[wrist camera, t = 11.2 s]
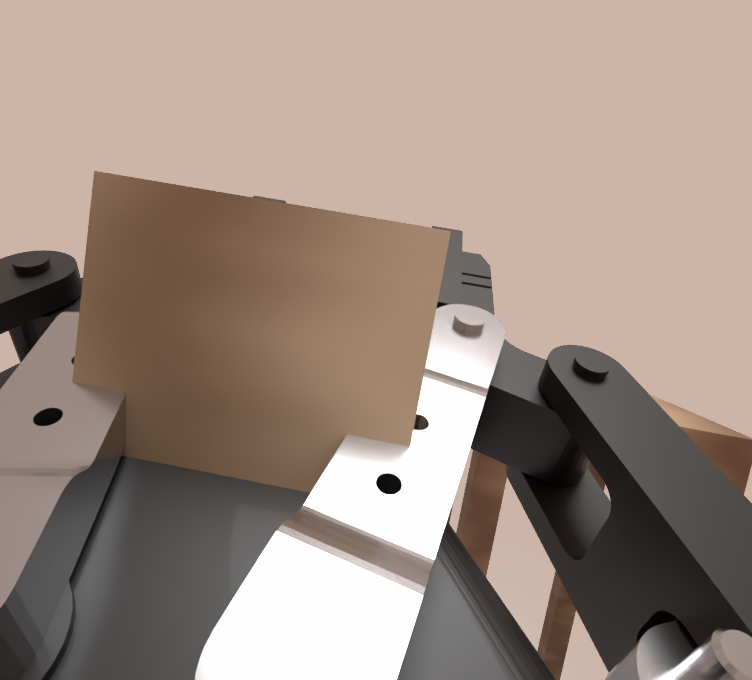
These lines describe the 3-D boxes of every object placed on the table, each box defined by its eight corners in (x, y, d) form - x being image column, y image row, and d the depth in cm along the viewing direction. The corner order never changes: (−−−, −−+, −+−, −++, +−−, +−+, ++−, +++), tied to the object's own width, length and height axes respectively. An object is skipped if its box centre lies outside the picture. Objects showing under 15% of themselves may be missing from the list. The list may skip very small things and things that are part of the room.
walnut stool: (371, 981, 27) (491, 389, 23) (385, 733, 41) (459, 351, 38) (600, 1037, 26) (758, 438, 23) (531, 765, 41) (619, 380, 37)
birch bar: (64, 456, 5) (94, 170, 5) (347, 318, 29) (356, 267, 29) (395, 523, 5) (450, 230, 5) (409, 329, 29) (418, 277, 29)
